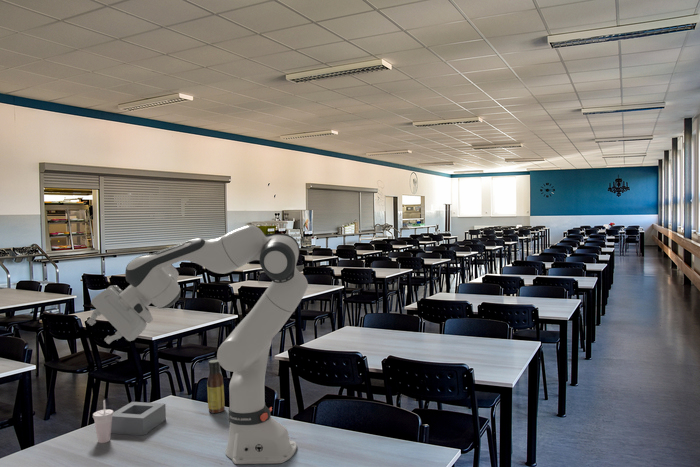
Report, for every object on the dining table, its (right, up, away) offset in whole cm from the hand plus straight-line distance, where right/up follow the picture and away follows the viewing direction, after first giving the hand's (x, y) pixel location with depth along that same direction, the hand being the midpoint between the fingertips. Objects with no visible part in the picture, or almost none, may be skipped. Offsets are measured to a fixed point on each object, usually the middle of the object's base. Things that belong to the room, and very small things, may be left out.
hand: (97, 332), depth 158 cm
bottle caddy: (+1, -39, +27) cm, 48 cm away
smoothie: (-5, -40, +15) cm, 43 cm away
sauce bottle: (+26, -39, +40) cm, 62 cm away
